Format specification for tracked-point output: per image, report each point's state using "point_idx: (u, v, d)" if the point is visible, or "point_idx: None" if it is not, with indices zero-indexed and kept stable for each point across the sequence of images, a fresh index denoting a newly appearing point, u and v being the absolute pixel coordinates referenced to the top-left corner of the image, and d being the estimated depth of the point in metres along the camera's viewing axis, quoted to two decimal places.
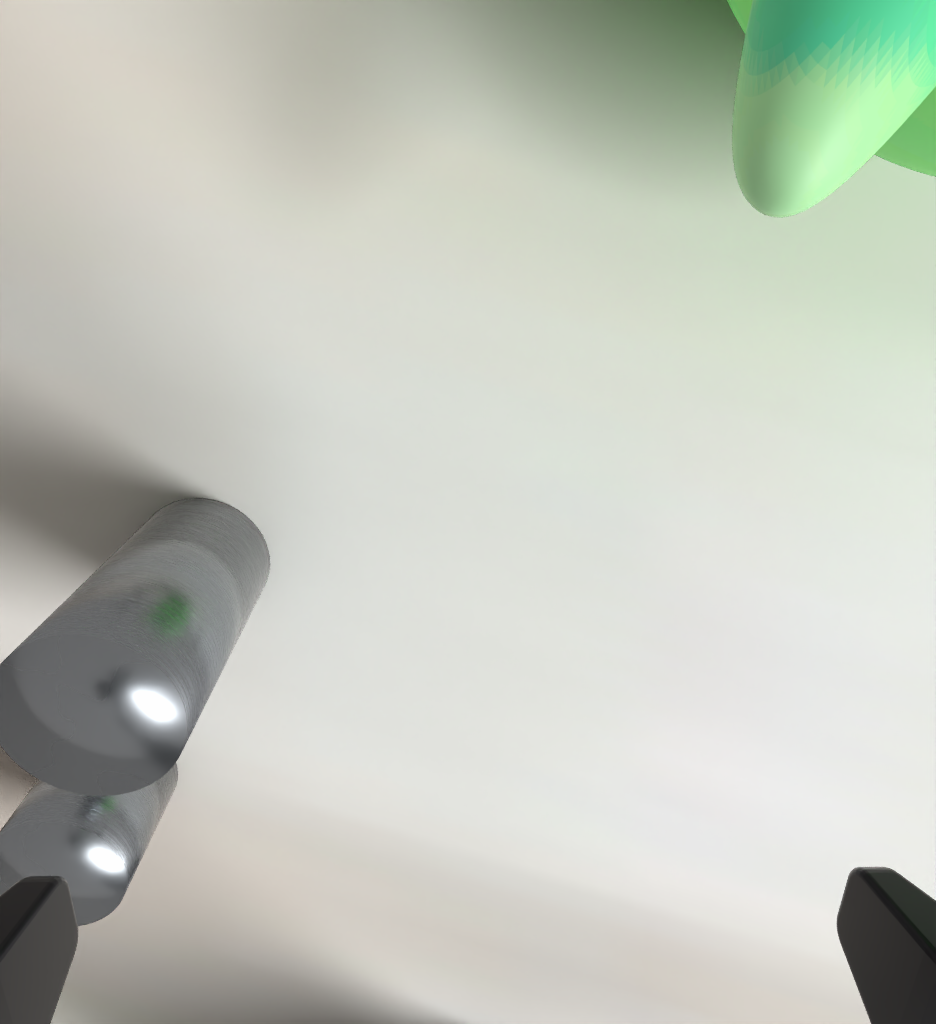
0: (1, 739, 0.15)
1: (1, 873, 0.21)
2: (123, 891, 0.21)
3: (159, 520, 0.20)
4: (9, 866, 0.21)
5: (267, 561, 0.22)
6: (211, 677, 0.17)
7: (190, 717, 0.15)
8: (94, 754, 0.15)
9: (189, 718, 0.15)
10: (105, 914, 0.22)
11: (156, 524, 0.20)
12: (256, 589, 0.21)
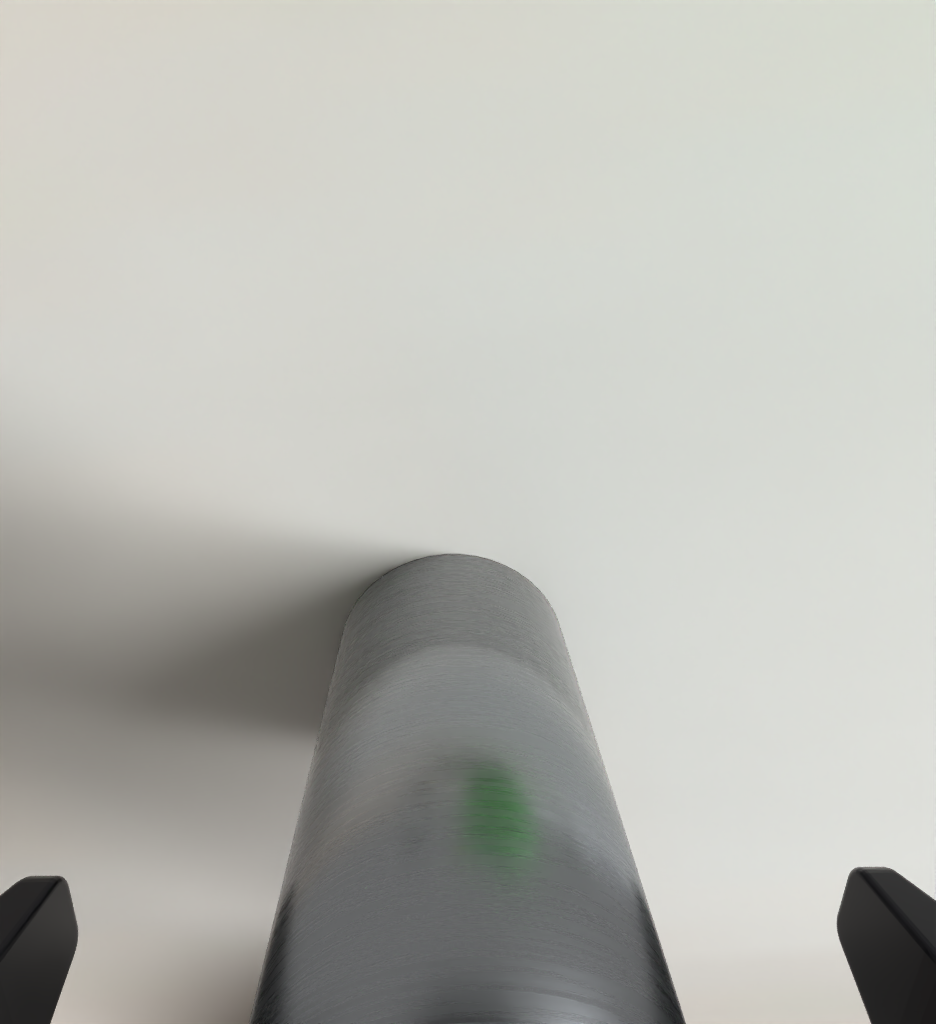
0: None
1: None
2: None
3: (367, 629, 0.11)
4: None
5: (556, 619, 0.12)
6: None
7: None
8: None
9: None
10: None
11: (367, 638, 0.11)
12: (575, 678, 0.11)
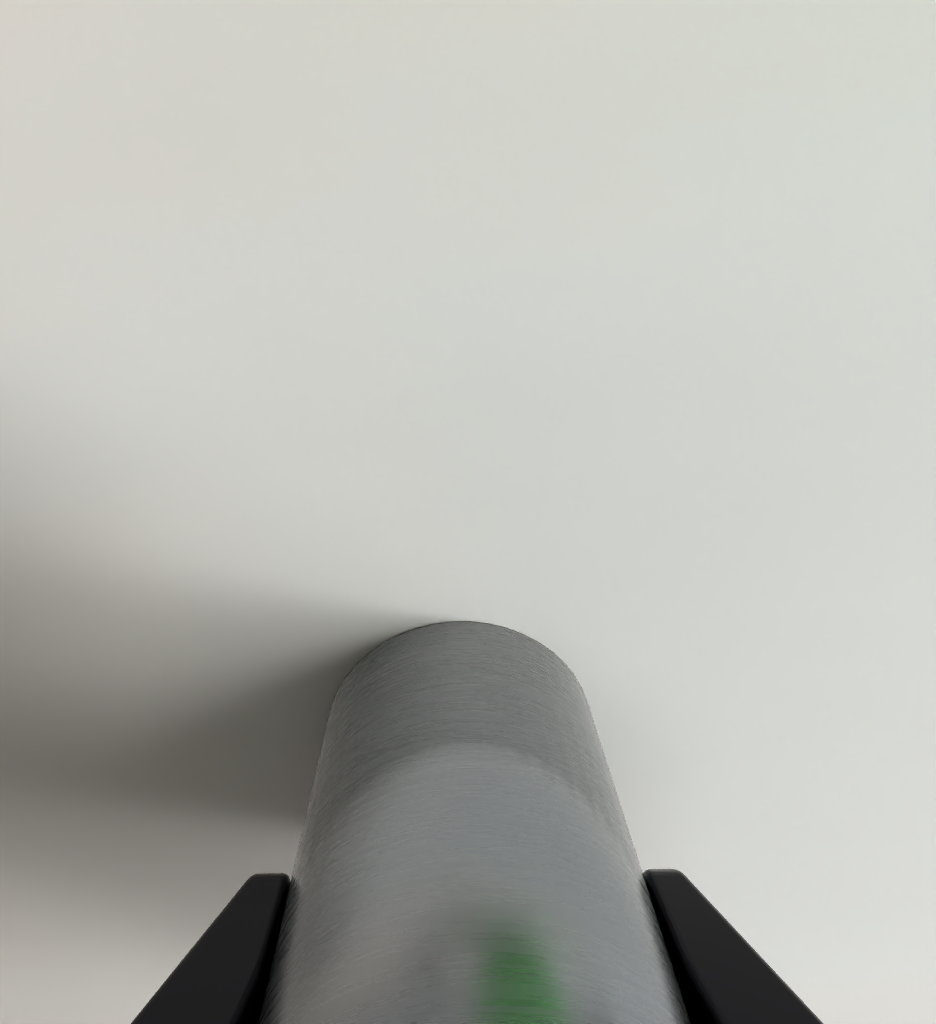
0: None
1: None
2: None
3: (357, 724, 0.09)
4: None
5: (584, 699, 0.10)
6: None
7: None
8: None
9: None
10: None
11: (356, 739, 0.09)
12: (612, 781, 0.09)
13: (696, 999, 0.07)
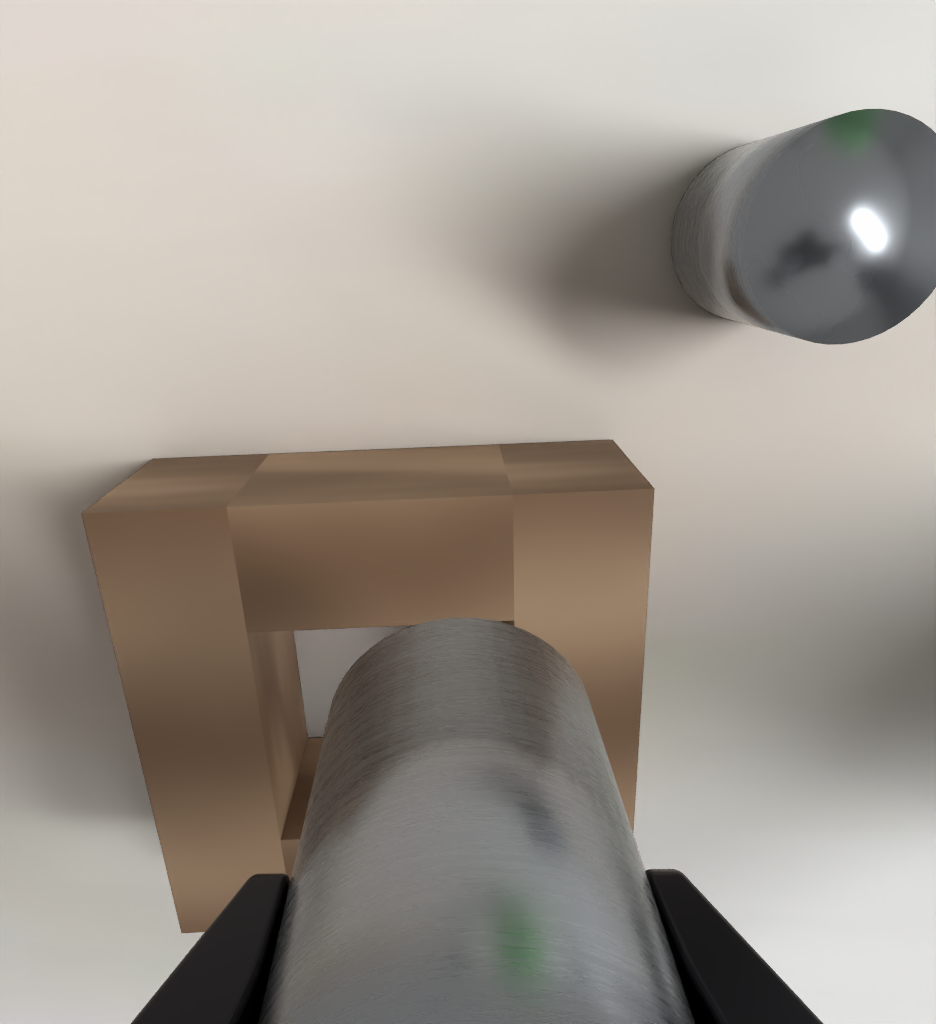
0: None
1: (772, 263, 0.13)
2: None
3: (358, 719, 0.09)
4: (783, 241, 0.13)
5: (586, 694, 0.10)
6: None
7: None
8: None
9: None
10: (934, 283, 0.14)
11: (357, 734, 0.09)
12: (613, 777, 0.09)
13: (696, 999, 0.07)
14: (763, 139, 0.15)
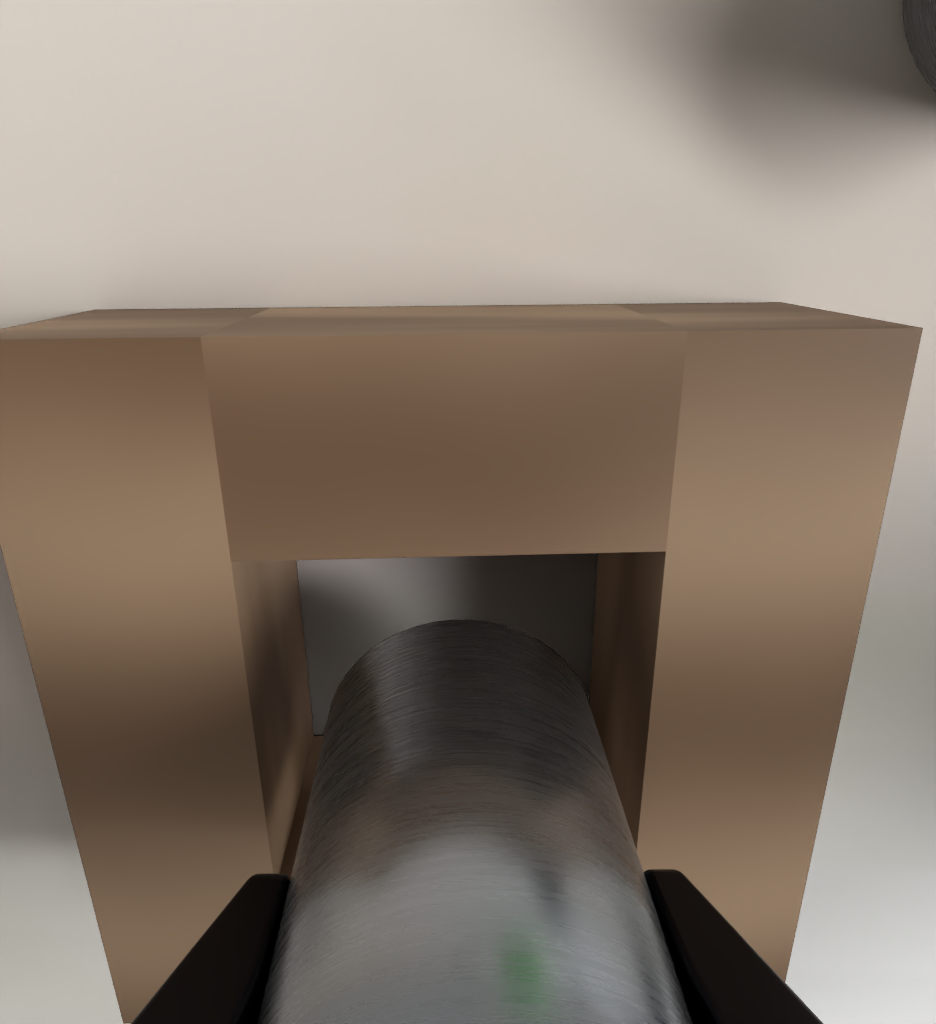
0: None
1: None
2: None
3: (357, 721, 0.09)
4: None
5: (585, 697, 0.10)
6: None
7: None
8: None
9: None
10: None
11: (356, 737, 0.09)
12: (612, 779, 0.09)
13: (696, 999, 0.07)
14: None
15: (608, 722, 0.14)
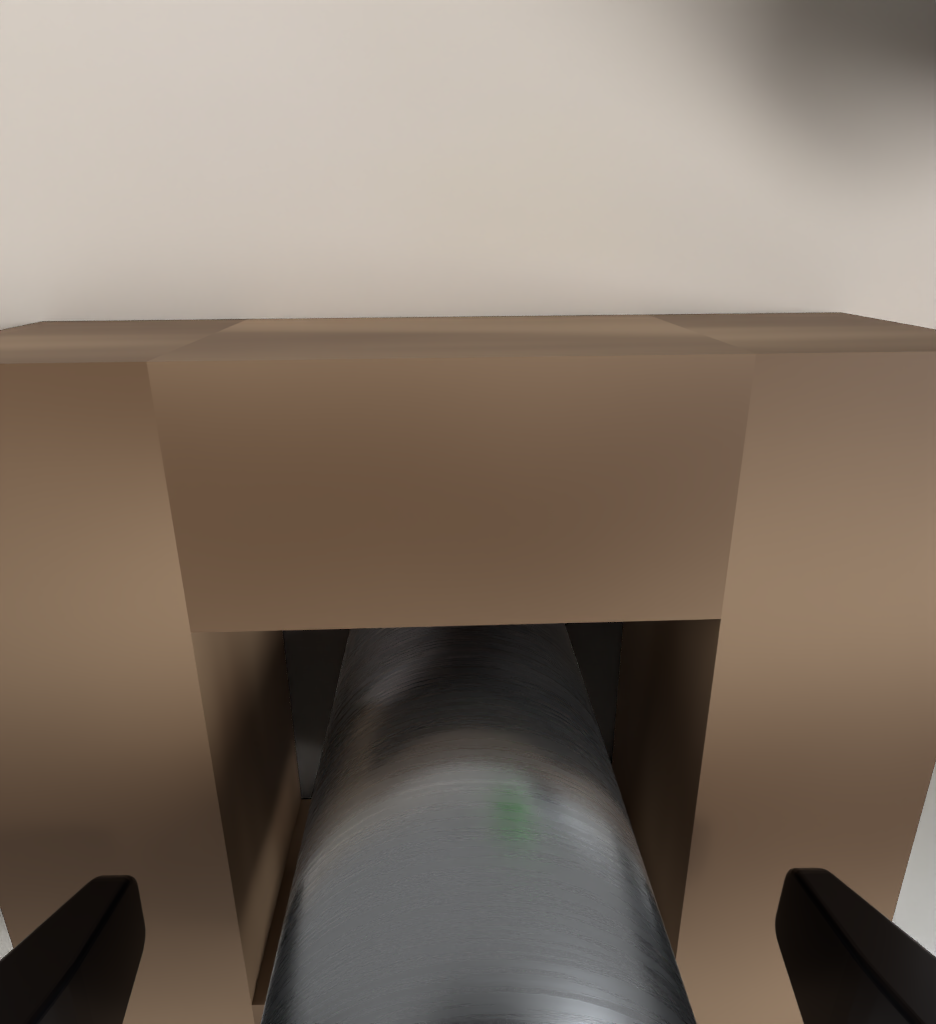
0: None
1: None
2: None
3: (374, 630, 0.11)
4: None
5: None
6: (669, 943, 0.07)
7: None
8: None
9: None
10: None
11: (374, 640, 0.11)
12: (582, 679, 0.11)
13: (876, 996, 0.07)
14: None
15: (637, 794, 0.12)
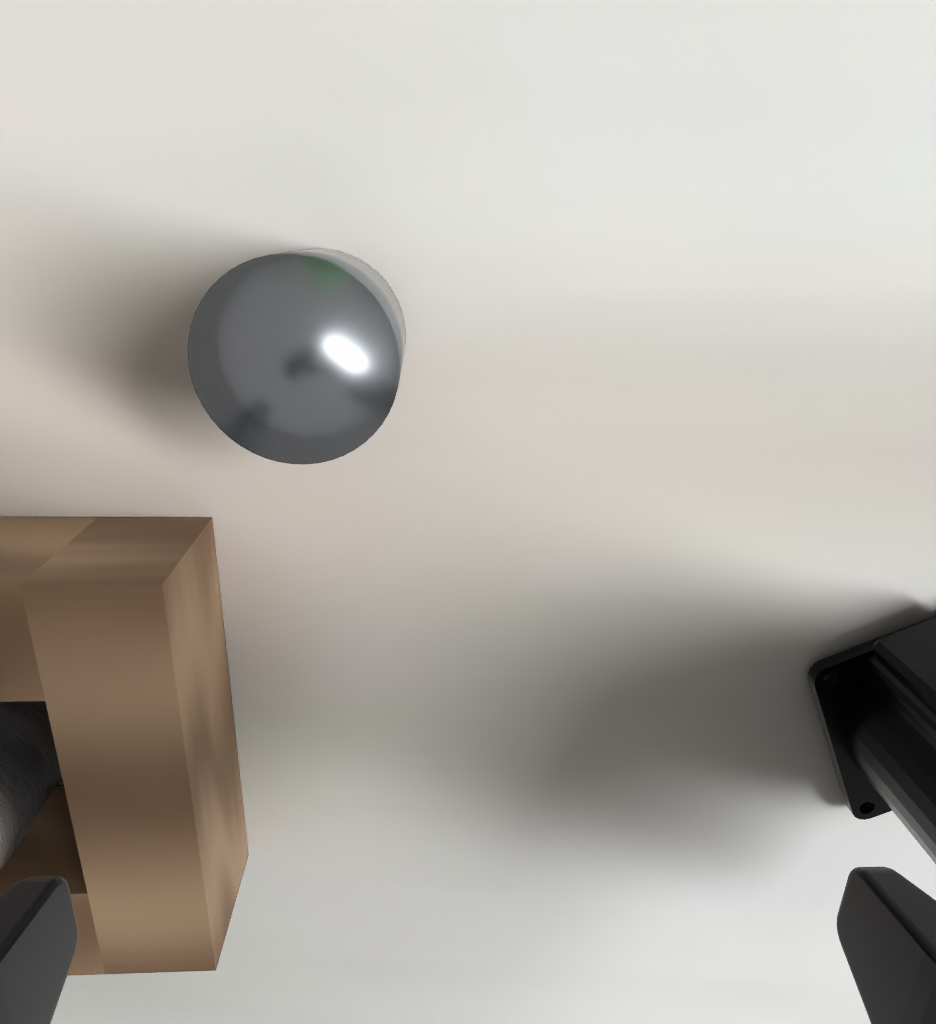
0: None
1: (222, 388, 0.14)
2: (397, 357, 0.14)
3: None
4: (227, 369, 0.14)
5: None
6: None
7: None
8: None
9: None
10: (384, 413, 0.14)
11: None
12: None
13: None
14: None
15: None
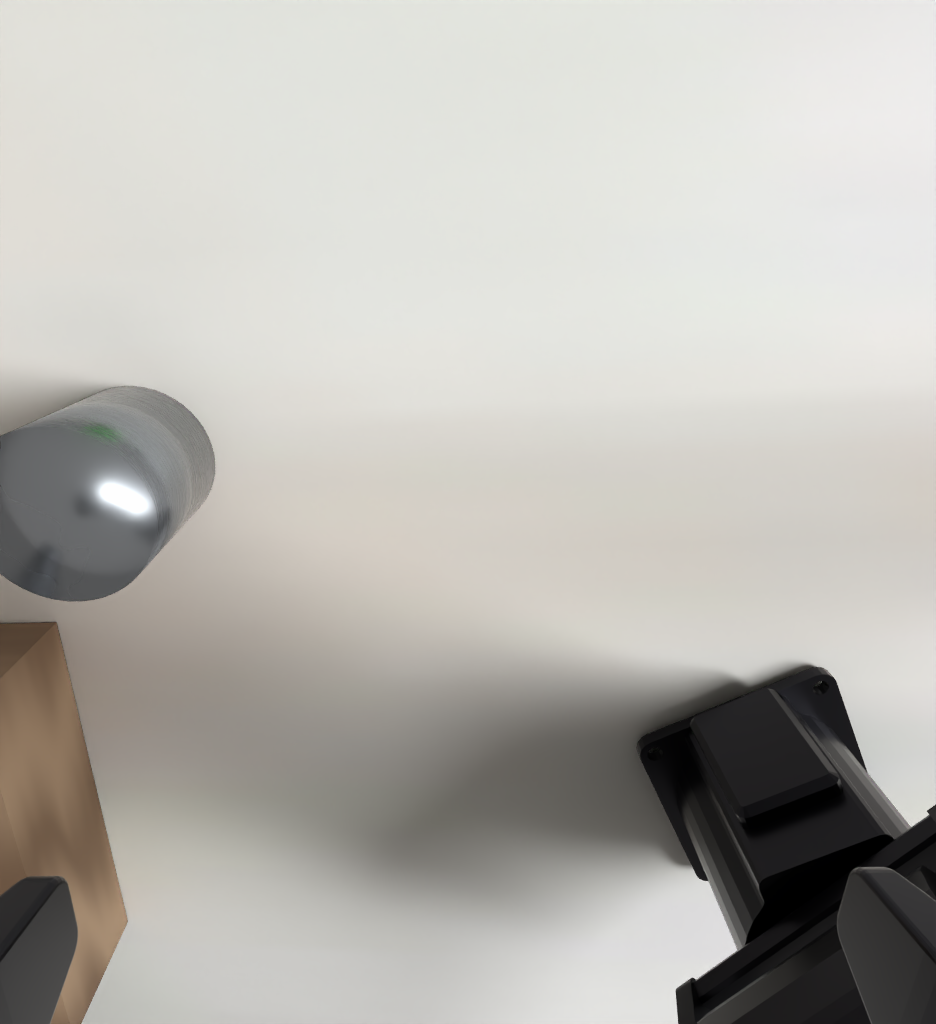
0: None
1: None
2: (149, 508, 0.15)
3: None
4: (0, 524, 0.15)
5: None
6: None
7: None
8: None
9: None
10: (146, 556, 0.16)
11: None
12: None
13: None
14: None
15: None
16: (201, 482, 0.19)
